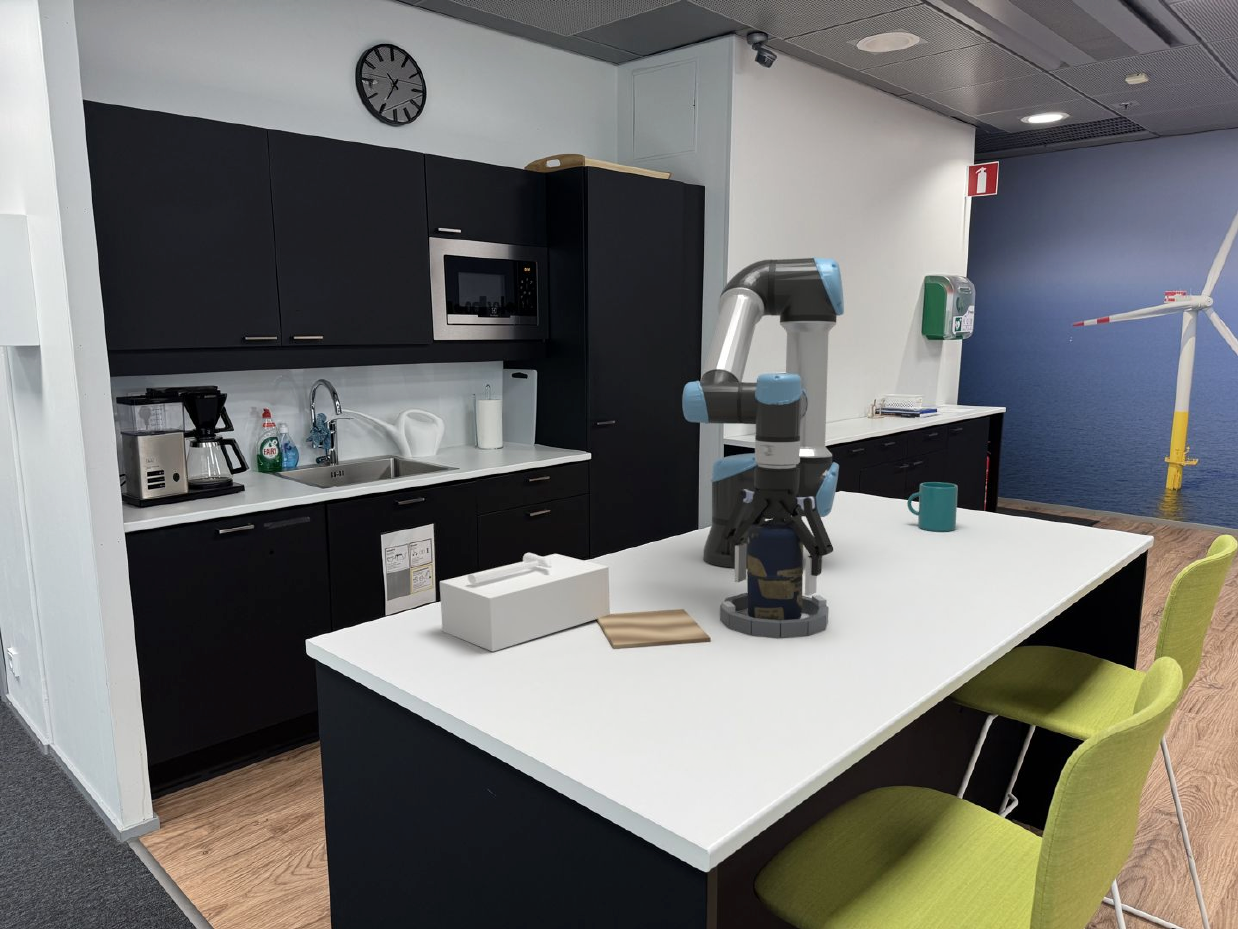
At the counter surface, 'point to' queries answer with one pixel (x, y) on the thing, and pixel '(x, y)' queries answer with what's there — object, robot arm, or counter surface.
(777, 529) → the canister
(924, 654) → the counter surface
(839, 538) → the counter surface
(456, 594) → the tissue box
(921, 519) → the cup
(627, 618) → the mat
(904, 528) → the counter surface
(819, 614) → the collar
